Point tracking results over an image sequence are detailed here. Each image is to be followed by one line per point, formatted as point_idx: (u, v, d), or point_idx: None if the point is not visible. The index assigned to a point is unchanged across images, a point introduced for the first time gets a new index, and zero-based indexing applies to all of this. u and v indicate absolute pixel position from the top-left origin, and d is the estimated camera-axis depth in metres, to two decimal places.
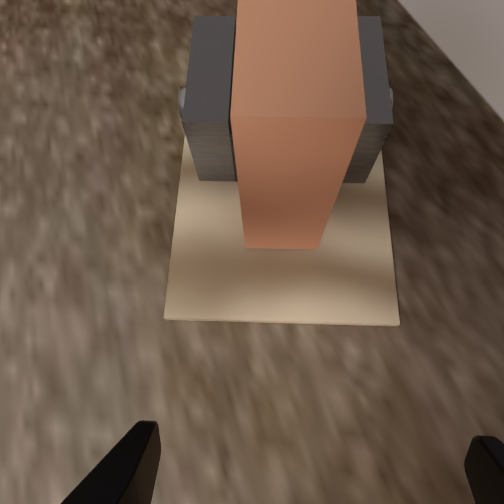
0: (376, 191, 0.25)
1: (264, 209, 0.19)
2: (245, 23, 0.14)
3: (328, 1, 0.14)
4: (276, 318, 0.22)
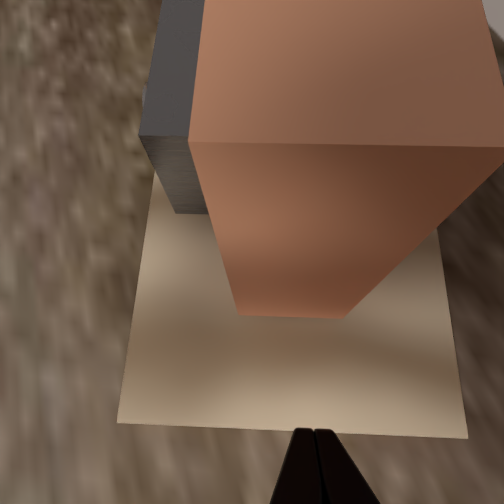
0: None
1: (266, 281, 0.11)
2: None
3: None
4: (283, 425, 0.15)
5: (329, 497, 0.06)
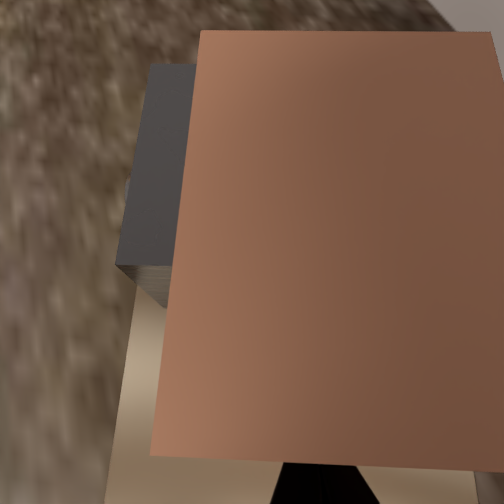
0: None
1: None
2: (214, 116, 0.05)
3: (426, 56, 0.06)
4: None
5: (329, 497, 0.06)
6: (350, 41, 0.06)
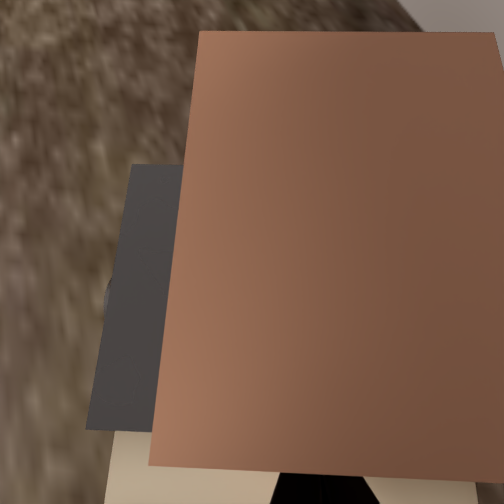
0: None
1: None
2: (213, 119, 0.05)
3: (428, 58, 0.06)
4: None
5: (329, 497, 0.06)
6: (351, 42, 0.06)
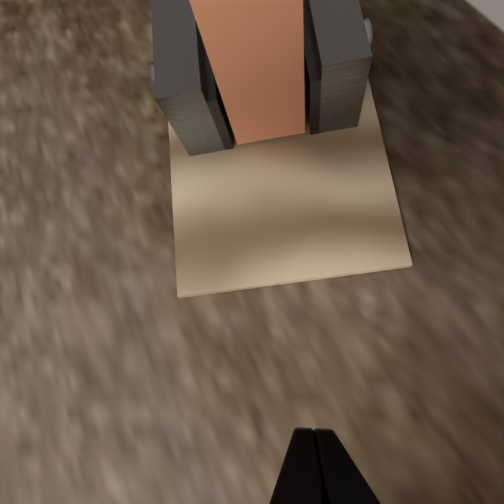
0: (370, 132, 0.24)
1: (240, 86, 0.20)
2: None
3: None
4: (286, 279, 0.22)
5: (329, 497, 0.06)
6: None
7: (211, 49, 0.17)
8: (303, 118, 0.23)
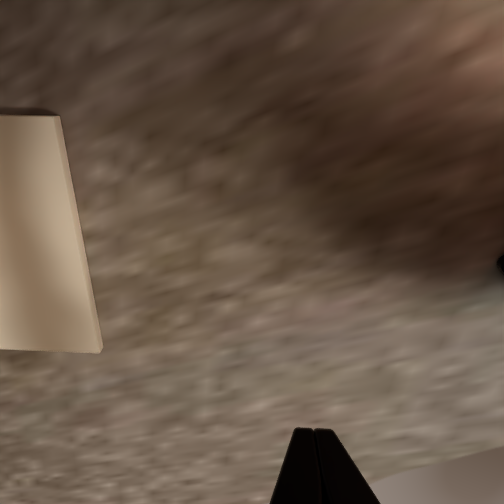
0: None
1: None
2: None
3: None
4: (77, 255, 0.21)
5: (329, 497, 0.06)
6: None
7: None
8: None
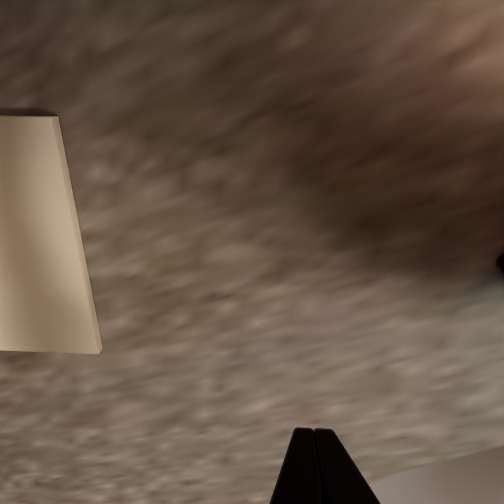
0: None
1: None
2: None
3: None
4: (76, 255, 0.21)
5: (329, 497, 0.06)
6: None
7: None
8: None
